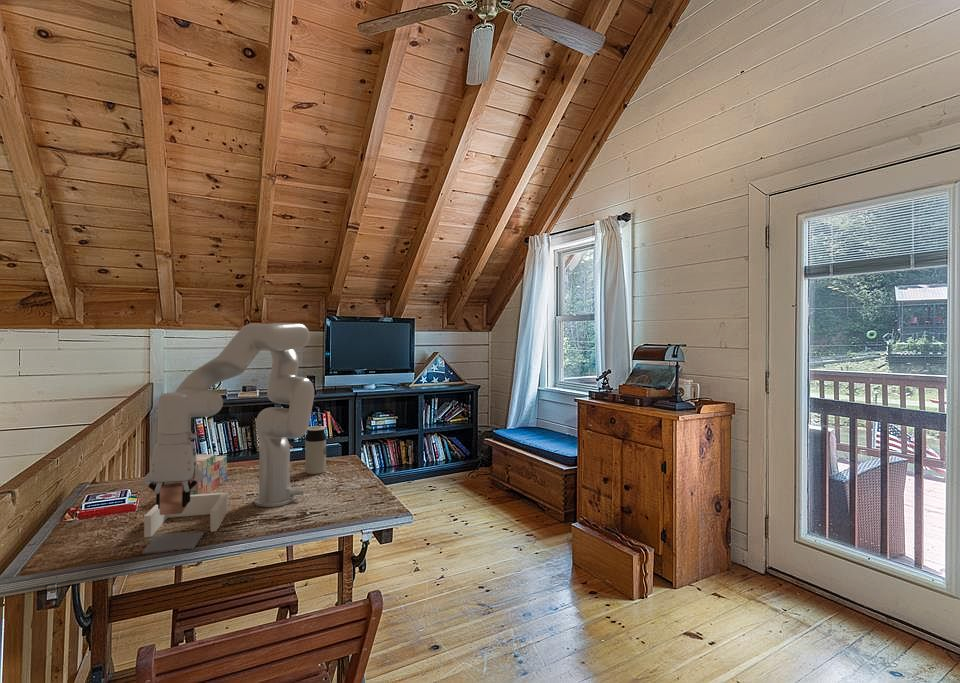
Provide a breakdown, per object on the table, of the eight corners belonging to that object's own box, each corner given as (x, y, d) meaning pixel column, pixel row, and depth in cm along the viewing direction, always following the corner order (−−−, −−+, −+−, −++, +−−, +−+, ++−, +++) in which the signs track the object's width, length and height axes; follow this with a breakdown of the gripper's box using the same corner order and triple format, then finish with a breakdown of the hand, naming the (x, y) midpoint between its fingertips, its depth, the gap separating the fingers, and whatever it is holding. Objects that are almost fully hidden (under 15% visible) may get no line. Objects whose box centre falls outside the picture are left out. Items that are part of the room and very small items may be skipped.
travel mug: (301, 473, 196) (301, 429, 196) (311, 468, 204) (311, 425, 204) (319, 475, 195) (320, 430, 195) (329, 469, 203) (329, 426, 202)
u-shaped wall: (228, 510, 156) (228, 492, 156) (216, 531, 141) (216, 510, 141) (163, 516, 151) (163, 496, 151) (144, 537, 136) (144, 516, 136)
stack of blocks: (210, 479, 188) (211, 447, 187) (227, 479, 188) (227, 447, 188) (178, 499, 166) (178, 463, 166) (197, 499, 166) (197, 463, 166)
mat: (204, 533, 139) (204, 531, 139) (194, 549, 129) (194, 547, 129) (155, 538, 136) (155, 536, 136) (141, 554, 126) (141, 552, 126)
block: (186, 507, 135) (186, 481, 135) (181, 513, 130) (181, 487, 130) (165, 508, 134) (166, 482, 134) (159, 515, 129) (159, 488, 129)
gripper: (212, 434, 138) (212, 499, 138) (142, 437, 133) (142, 503, 133) (206, 440, 131) (205, 508, 131) (131, 443, 126) (131, 513, 126)
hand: (173, 505), depth 132 cm, fingers closed on block, 4 cm apart
